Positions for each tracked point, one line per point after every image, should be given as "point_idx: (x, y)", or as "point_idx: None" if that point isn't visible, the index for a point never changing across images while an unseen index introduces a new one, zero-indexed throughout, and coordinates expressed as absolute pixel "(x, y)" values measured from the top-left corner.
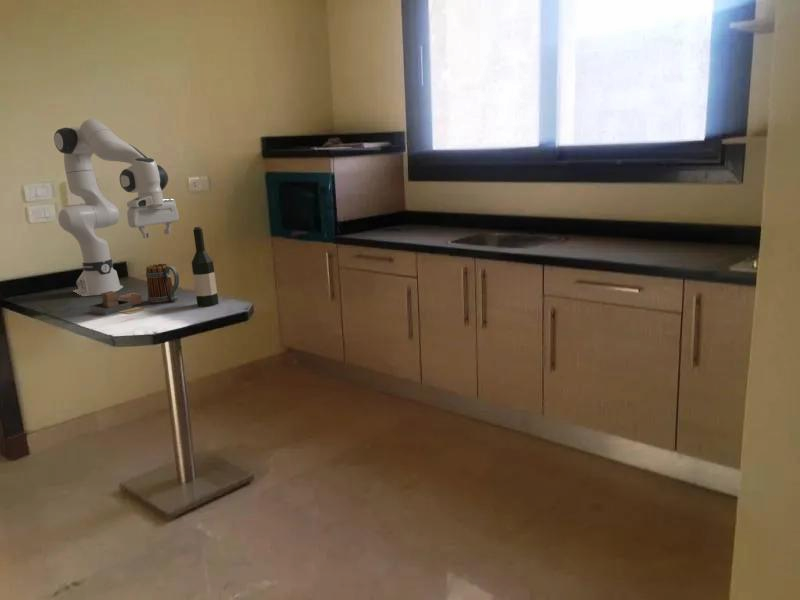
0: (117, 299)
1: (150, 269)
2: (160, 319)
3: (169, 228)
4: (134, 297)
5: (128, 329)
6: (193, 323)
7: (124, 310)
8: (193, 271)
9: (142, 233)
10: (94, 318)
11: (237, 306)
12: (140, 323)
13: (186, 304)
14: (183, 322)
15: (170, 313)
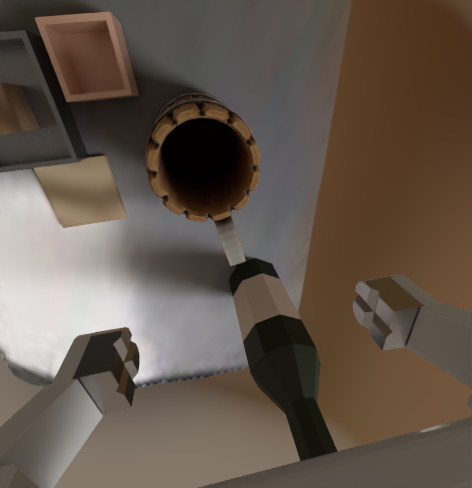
0: (17, 131)
1: (156, 195)
2: (122, 316)
3: (432, 355)
4: (102, 98)
5: (43, 338)
6: (159, 374)
7: (55, 166)
8: (245, 350)
9: (52, 394)
10: None
11: None
12: (76, 315)
13: None
14: (149, 361)
15: (158, 288)
